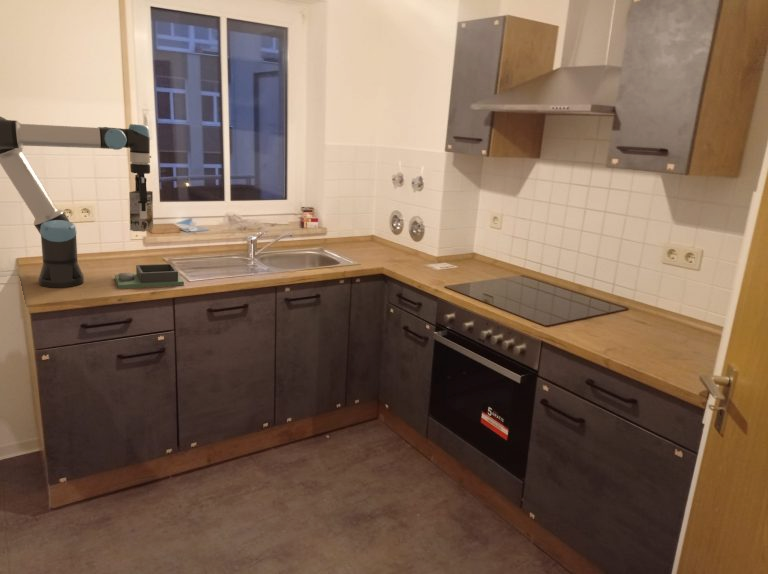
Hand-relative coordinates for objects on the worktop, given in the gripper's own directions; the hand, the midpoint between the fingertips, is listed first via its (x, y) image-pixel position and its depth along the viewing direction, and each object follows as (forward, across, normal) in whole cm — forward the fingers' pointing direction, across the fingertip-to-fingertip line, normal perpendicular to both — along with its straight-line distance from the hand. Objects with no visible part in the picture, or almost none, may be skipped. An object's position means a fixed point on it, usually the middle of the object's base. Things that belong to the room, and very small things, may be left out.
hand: (141, 216), depth 241 cm
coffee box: (+6, 0, 0) cm, 6 cm away
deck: (+24, -18, 0) cm, 30 cm away
